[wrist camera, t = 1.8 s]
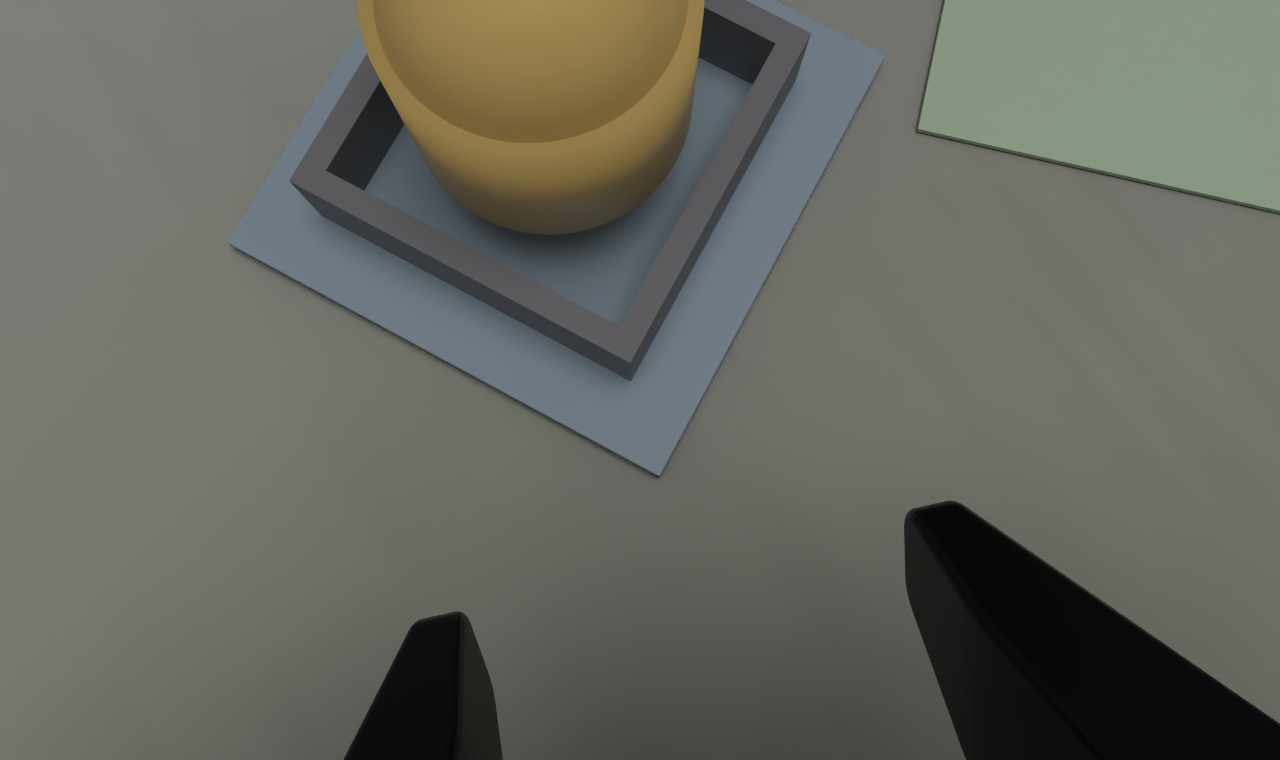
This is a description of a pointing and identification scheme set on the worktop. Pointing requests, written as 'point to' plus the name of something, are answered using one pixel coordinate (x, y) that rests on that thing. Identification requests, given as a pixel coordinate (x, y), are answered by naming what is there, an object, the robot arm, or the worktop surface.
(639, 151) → the dome
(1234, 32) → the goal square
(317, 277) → the tile
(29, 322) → the worktop surface
